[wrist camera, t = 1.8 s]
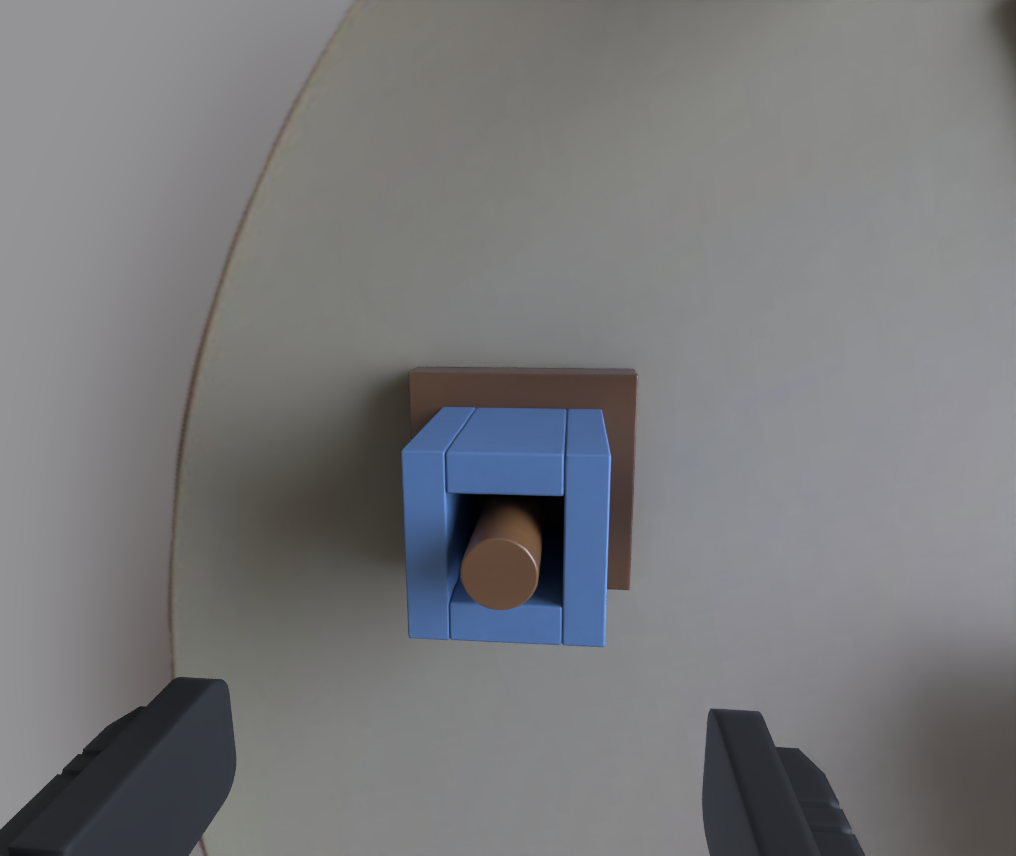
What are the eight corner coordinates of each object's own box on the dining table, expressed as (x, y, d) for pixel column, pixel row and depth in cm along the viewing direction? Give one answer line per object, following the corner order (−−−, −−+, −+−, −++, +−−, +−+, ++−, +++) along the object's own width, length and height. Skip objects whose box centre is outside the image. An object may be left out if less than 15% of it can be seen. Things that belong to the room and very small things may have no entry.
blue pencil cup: (442, 406, 24) (400, 450, 18) (602, 408, 23) (611, 454, 18) (446, 553, 25) (407, 638, 19) (597, 559, 25) (605, 648, 19)
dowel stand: (417, 366, 25) (334, 417, 16) (634, 368, 24) (668, 423, 16) (424, 565, 27) (353, 706, 18) (626, 572, 26) (652, 723, 18)
